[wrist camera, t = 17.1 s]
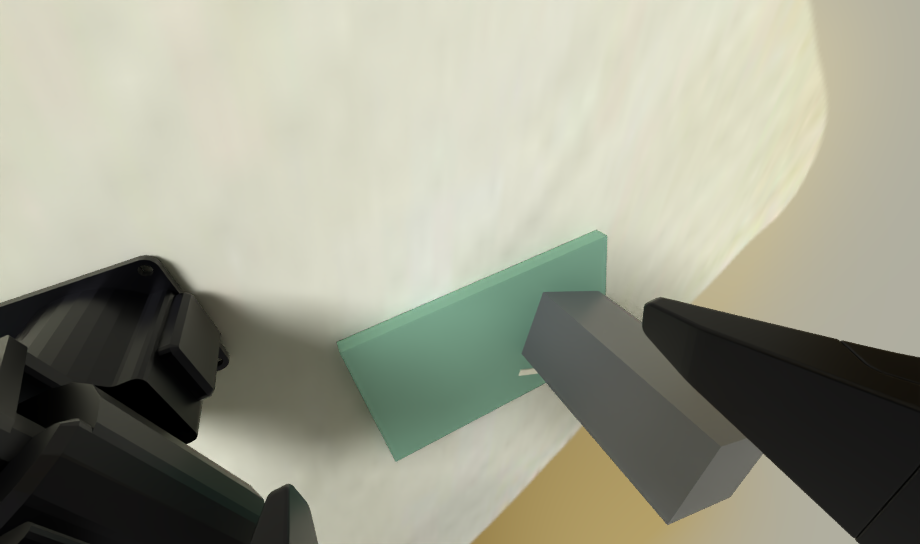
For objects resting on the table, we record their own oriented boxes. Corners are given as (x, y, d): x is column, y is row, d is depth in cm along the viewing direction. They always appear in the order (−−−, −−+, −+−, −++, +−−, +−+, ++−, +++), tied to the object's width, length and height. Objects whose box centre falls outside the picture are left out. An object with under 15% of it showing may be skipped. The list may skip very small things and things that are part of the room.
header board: (391, 450, 29) (406, 494, 26) (336, 342, 22) (348, 384, 20) (595, 344, 33) (626, 372, 30) (596, 230, 27) (636, 251, 24)
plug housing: (521, 353, 28) (667, 525, 18) (543, 291, 26) (721, 446, 16) (574, 348, 30) (730, 497, 20) (598, 290, 28) (784, 425, 18)
